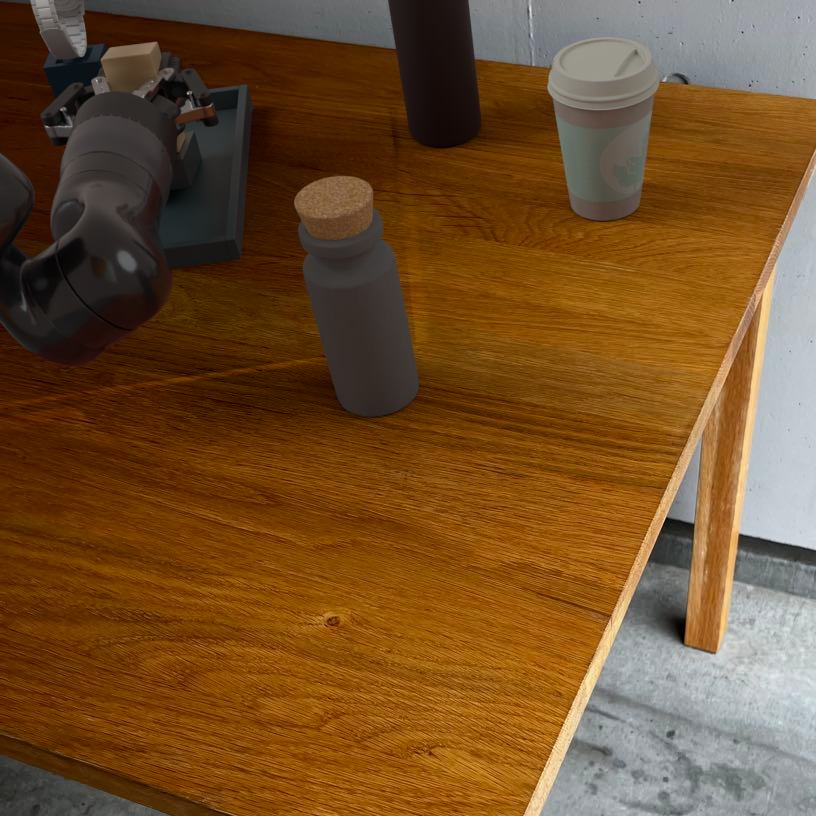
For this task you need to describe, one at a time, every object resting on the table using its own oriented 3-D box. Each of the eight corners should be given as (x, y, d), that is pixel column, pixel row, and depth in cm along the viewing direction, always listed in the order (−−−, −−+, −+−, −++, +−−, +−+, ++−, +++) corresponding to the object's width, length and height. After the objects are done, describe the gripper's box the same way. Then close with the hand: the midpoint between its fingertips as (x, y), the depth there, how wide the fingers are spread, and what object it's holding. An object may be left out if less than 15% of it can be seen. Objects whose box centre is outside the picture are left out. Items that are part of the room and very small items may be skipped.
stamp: (131, 195, 90) (88, 66, 83) (147, 164, 96) (108, 42, 89) (190, 187, 90) (152, 58, 83) (201, 157, 96) (167, 35, 90)
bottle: (406, 354, 76) (367, 161, 65) (430, 402, 72) (393, 206, 61) (328, 377, 75) (274, 184, 64) (348, 427, 71) (295, 232, 60)
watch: (118, 65, 112) (77, -47, 104) (107, 99, 107) (63, -15, 98) (65, 71, 112) (20, -40, 104) (51, 106, 106) (3, -8, 98)
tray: (73, 288, 84) (61, 262, 83) (114, 126, 103) (105, 102, 101) (242, 264, 85) (234, 238, 83) (254, 108, 103) (247, 83, 102)
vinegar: (497, 126, 98) (473, -116, 83) (444, 156, 95) (409, -91, 80) (447, 106, 101) (416, -131, 86) (394, 134, 98) (353, -107, 83)
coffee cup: (596, 243, 84) (593, 96, 75) (534, 200, 89) (523, 57, 80) (678, 204, 87) (683, 58, 78) (613, 165, 92) (611, 23, 83)
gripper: (199, 105, 76) (213, 10, 88) (1, 130, 76) (41, 32, 87) (228, 198, 82) (238, 98, 93) (44, 223, 81) (77, 119, 93)
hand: (143, 67), depth 90 cm, fingers closed on stamp, 4 cm apart
